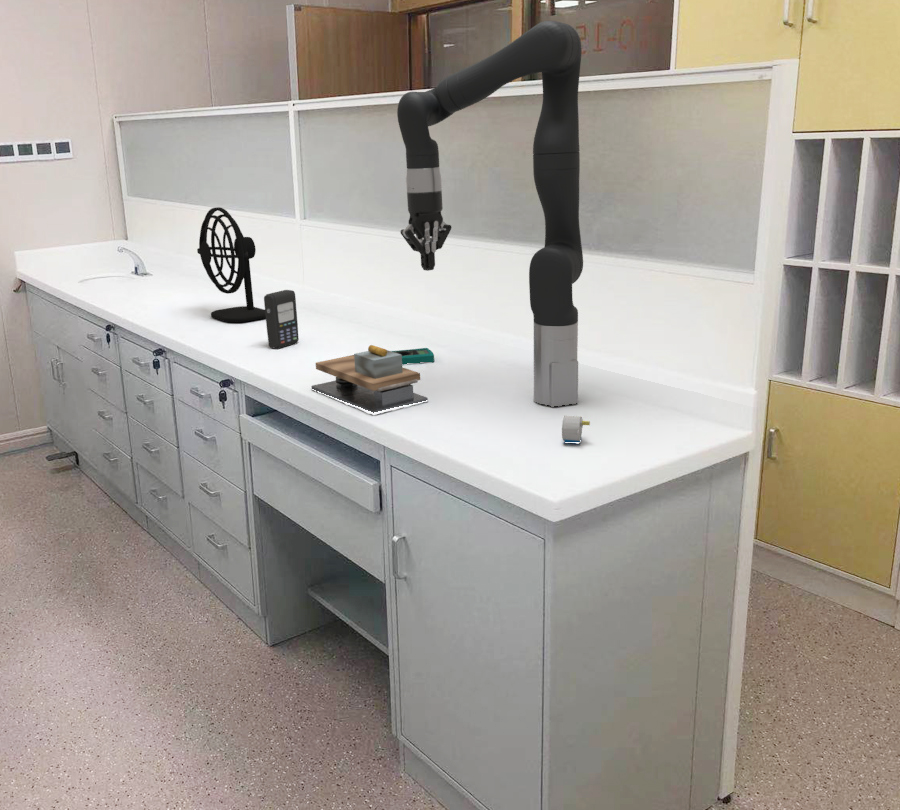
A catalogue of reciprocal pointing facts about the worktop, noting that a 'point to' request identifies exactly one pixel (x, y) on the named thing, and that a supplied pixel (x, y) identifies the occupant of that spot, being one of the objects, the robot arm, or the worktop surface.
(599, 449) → the worktop surface
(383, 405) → the levelling stand
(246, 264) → the desk fan
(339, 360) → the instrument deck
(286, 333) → the card reader
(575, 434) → the electric motor
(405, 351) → the digital multimeter
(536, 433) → the worktop surface
